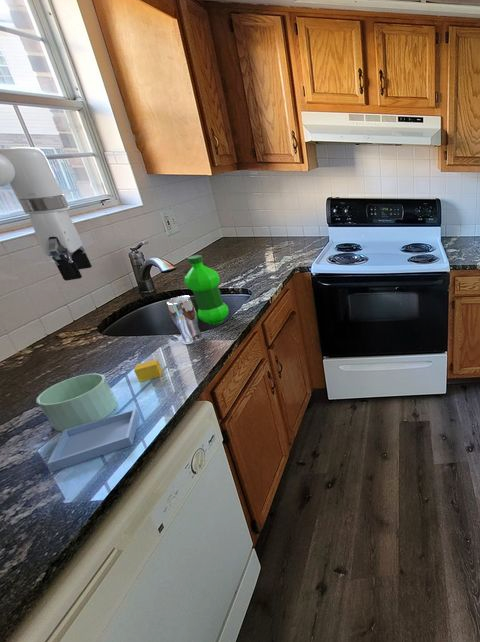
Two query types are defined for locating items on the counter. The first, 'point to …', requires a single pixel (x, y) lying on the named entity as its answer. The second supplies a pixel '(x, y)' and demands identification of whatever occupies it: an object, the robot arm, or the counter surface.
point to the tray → (94, 439)
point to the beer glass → (185, 318)
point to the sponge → (148, 370)
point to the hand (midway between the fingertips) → (79, 273)
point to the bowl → (77, 401)
